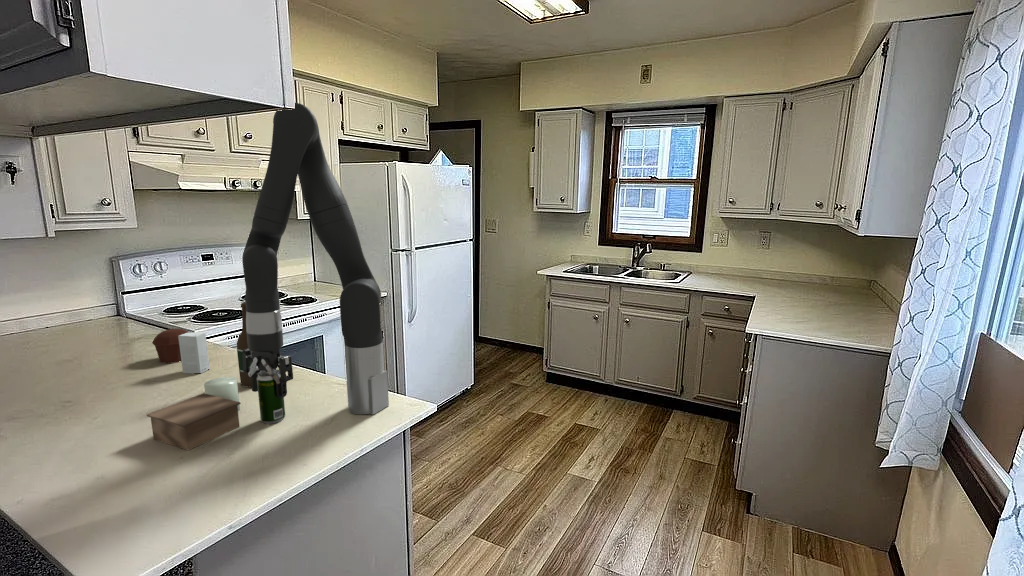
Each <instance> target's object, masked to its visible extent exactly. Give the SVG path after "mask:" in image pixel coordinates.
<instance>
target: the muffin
mask: <svg viewBox="0 0 1024 576" xmlns="http://www.w3.org/2000/svg"><path fill="white" fill-rule="evenodd" d="M188 332H189V333H191V332H190V331H188V330H186V329H183V328H169V329H166V330H163V331H161V332H159V333H158V334H156V336H155V337H154V339H153V340H152V342H151V344H153V346H154V347H155V350H156V353H157V356H158V359H159V361H160V362H161V364H172V363H171V362H175V363H180V362H179V361H181V353H180V346H179V338H178V336H179V335H182V334H185V333H188ZM181 362H182V361H181Z"/></svg>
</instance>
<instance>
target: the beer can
mask: <svg viewBox="0 0 1024 576" xmlns="http://www.w3.org/2000/svg"><path fill="white" fill-rule="evenodd" d="M278 369H279V368H277V369H276V370H278ZM276 370H274V371H276ZM257 375H258V377H257V386H258V391H257V396H258V405H259V414H260V415H259V416H260V420H261V422H262V423H263V424H265V425H274V424H278V423H280V422H282V421H284V419H285V417H286V407H285V397H283V398H277V394H276V381H275V379H274V378H273V377H272V376H270V374H269V373H268V372H266V371H261V372H259V373H258V374H257ZM278 376H279V378H281V375H280V374H278Z"/></svg>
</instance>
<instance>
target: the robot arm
mask: <svg viewBox="0 0 1024 576" xmlns="http://www.w3.org/2000/svg"><path fill="white" fill-rule="evenodd" d="M272 119H273V120H272V123H273V126H272V138H271V145H270V147H271V148H270V153H269V159H268V164H267V168H266V171H265V175H264V179H263V182H262V186H261V189H260V192H259V195H258V199H257V203H256V205H255V210H254V214H253V218H252V223H251V229H250V232H249V235H248V238H247V240H246V243H245V245H244V249H243V253H242V260H241V261H242V269H243V277H244V285H245V301H244V302H246V330H247V343H248V349H245V350H243V351H242V356H243V372H244V373H248V375H249V377H251V387H250V388H251V391H252V392H255V393H256V392H257V393H258V386H257V377H258V375H257V374H258V373H259V372H261V371H262V370H264V371H266V372H268V373H269V374H270V376H272V377H273V378H274V379H275V381H276V394H277V398H283V397H284V398H285V397H286V396H287V395H288V389H287V387H288V385H287V382H290V381H292V380H293V379H294V371H293V362H292V361H293V360H292V356H291V355H290V354H289V355H282V354H281V348H283V346H284V334H283V320H282V313H281V304H280V294H279V288H278V282H279V281H278V280H279V278H278V276H279V272H278V269H279V268H278V267H279V265H278V251H279V248H280V245H281V244H280V243H281V239H282V237H283V235H284V233H285V232H286V229H287V225H288V222H289V219H290V215H291V213H292V211H291V210H292V207H293V203H294V197H295V190H296V184H297V180H299V185H300V189H301V195H302V198H303V201H304V206H305V209H306V212H307V214H308V217H309V219H310V222H311V225H312V227H313V229H314V232H315V235H316V236H317V238H318V240H319V242H320V243H321V245H322V246H323V249H325V251H326V252H327V254H328V255H329V257H330V258H331V260H332V262H333V263H334V266H335V268H336V269H337V273H338V277H339V279H340V282H341V283H340V284H341V287H342V291H341V293H340V295H339V296H340V297H339V313H340V314H339V315H340V324H341V325H340V326H341V333H342V337H343V346H344V361H345V363H344V364H345V378H346V392H347V393H346V395H347V407H348V411H349V412H350V413H351V414H353V415H354V414H355V415H375V414H377V413H379V412H380V411H382V410H383V409H386V408H387V407H389V406H390V403H389V402H390V401H389V383H388V382H389V379H388V378H389V377H388V371H387V370H386V369H385V368H384V366H385V365H384V343H383V331H382V326H381V325H382V324H381V321H382V320H381V300H382V291H381V287H380V286H379V284H378V283H377V280H376V278H375V277H374V275H373V272H372V271H371V269H370V266H369V265H368V262H367V261H366V258H365V255H364V252H363V248H362V244H361V241H360V238H359V237H360V236H359V234H358V231H357V228H356V224H355V221H354V219H353V216H352V213H351V210H350V208H349V204H348V202H347V199H346V198H345V195H344V193H343V191H342V189H341V187H340V185H339V183H338V181H337V180H336V179H337V178H336V177H335V175H334V174H333V172H332V170H331V168H330V166H329V163H328V160H327V158H326V155H325V151H324V147H323V144H322V139H321V135H320V129H319V125H318V120H317V118H316V117H315V114H314V112H312V111H311V109H310V108H308V107H307V106H306V105H304V104H302V103H299V102H295V109H292V110H282V111H277V110H276V111H275V113H274V115H273V118H272ZM248 363H250V367H248ZM276 369H278V370H276ZM274 370H276V371H274ZM278 374H280V375H281V378H279V376H278Z"/></svg>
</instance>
